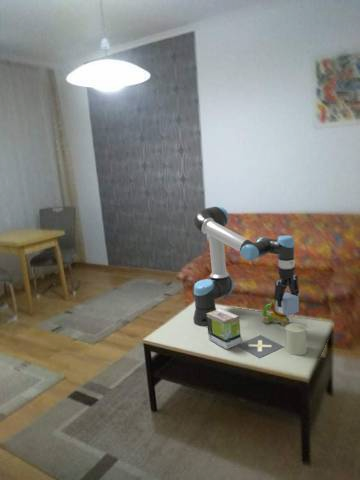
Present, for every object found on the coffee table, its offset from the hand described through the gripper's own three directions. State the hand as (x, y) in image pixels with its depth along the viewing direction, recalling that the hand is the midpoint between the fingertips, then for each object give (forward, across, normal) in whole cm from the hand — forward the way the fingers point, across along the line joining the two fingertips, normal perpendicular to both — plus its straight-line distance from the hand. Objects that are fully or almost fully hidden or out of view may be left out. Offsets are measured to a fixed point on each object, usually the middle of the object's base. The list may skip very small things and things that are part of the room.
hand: (287, 310), depth 183 cm
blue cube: (+1, 0, 0) cm, 1 cm away
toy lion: (+14, +6, +12) cm, 19 cm away
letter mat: (+13, -19, 0) cm, 23 cm away
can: (+13, -9, -14) cm, 21 cm away
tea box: (+14, -29, +15) cm, 36 cm away
